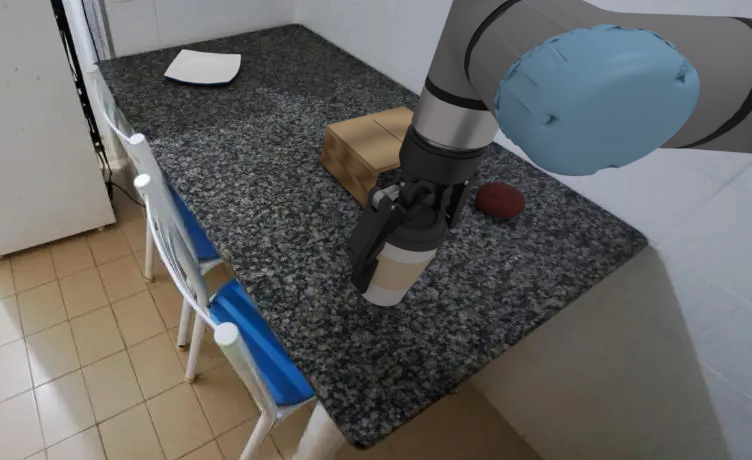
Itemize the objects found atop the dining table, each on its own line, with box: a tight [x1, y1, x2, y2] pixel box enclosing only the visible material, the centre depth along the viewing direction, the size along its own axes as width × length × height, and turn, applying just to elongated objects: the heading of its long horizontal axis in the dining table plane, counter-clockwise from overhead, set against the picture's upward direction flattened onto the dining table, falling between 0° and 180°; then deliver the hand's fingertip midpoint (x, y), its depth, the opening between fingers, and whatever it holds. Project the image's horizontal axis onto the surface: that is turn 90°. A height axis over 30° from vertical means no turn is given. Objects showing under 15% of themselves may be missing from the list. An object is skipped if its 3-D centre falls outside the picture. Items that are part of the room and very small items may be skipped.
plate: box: [163, 49, 242, 87], centre depth 115 cm, size 20×20×3 cm
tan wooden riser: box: [319, 105, 414, 208], centre depth 81 cm, size 16×20×9 cm
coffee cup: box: [361, 200, 448, 307], centre depth 51 cm, size 9×9×15 cm
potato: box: [474, 181, 527, 219], centre depth 73 cm, size 7×8×6 cm
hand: (384, 275), depth 54 cm, fingers closed on coffee cup, 8 cm apart
